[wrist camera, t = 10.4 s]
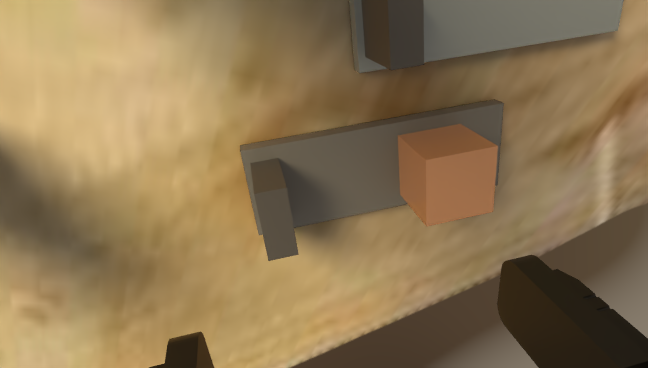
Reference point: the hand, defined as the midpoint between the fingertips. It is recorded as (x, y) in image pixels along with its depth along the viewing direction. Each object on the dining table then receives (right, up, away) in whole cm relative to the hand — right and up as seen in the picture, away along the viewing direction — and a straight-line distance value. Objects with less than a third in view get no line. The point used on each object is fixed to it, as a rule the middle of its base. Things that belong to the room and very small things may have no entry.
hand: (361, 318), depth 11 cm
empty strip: (+11, +17, +19) cm, 27 cm away
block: (+7, +5, +22) cm, 23 cm away
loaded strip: (+3, +5, +22) cm, 23 cm away
